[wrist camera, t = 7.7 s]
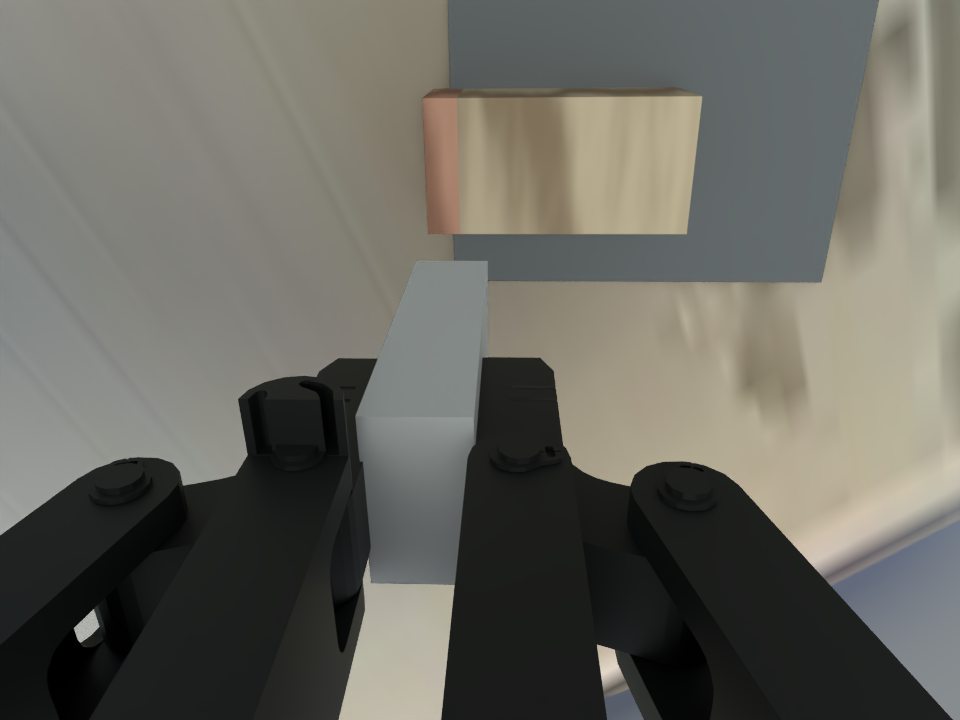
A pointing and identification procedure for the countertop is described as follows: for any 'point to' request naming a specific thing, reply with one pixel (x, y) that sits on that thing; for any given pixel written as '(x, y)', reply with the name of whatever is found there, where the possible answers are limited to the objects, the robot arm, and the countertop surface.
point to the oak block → (560, 160)
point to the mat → (722, 128)
